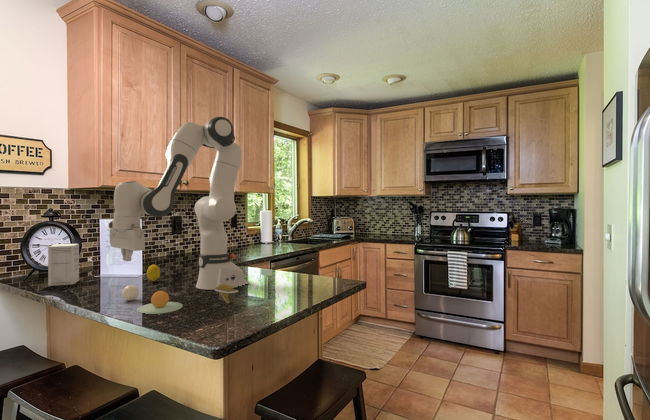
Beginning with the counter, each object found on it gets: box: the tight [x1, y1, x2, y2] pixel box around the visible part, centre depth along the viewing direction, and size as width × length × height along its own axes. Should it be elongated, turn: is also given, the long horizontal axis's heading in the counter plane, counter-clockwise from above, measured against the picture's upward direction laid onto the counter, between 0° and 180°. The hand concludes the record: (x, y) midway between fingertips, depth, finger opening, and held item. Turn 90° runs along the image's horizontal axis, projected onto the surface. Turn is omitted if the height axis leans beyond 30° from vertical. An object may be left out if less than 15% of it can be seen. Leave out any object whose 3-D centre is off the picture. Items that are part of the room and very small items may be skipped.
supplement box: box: [47, 243, 80, 287], centre depth 154 cm, size 10×9×17 cm
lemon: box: [146, 263, 161, 283], centre depth 160 cm, size 6×6×8 cm
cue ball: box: [121, 284, 140, 302], centre depth 128 cm, size 6×6×6 cm
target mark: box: [136, 301, 184, 315], centre depth 119 cm, size 14×14×1 cm
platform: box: [214, 284, 239, 304], centre depth 128 cm, size 12×18×7 cm, turn 58°
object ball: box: [150, 290, 170, 308], centre depth 120 cm, size 6×6×6 cm
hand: (127, 260), depth 133 cm, fingers closed
